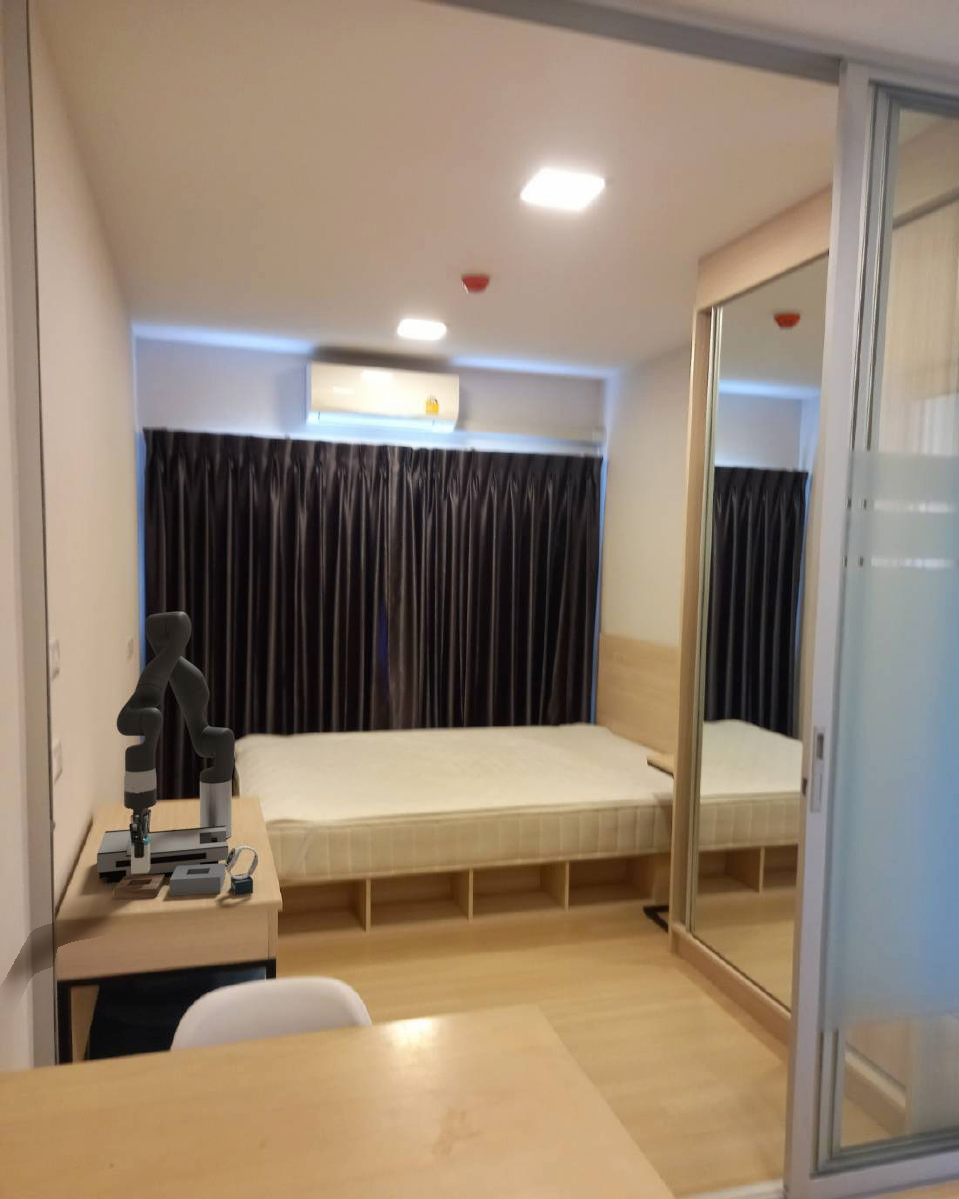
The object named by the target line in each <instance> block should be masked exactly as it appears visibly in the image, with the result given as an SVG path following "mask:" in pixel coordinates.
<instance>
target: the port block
mask: <svg viewBox="0 0 959 1199" xmlns="http://www.w3.org/2000/svg"><path fill="white" fill-rule="evenodd" d="M169 878H170V879H169V896H170V897H173V896H189V895H207V894H221V893H222V888H223V886H224V883H225V879H226V867H225V862H223V863H218V864H204V865H185V866H177V867H176V869H175V871H174V873H173V874H172V876H171V877H169Z"/></svg>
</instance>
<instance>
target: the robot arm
mask: <svg viewBox="0 0 959 1199" xmlns="http://www.w3.org/2000/svg"><path fill="white" fill-rule="evenodd" d="M144 631H145V635H146V638H147V640H148V642H149V644H150V646H151V649H152V650H153V652H154V654H155V657H154V658H153V659H152V660H151V661H150V662H149V663H148V664H147V665H146V666H145V668H143V670H142V672H141V674H140V675H139V678H138V681H137V684H136V687H135V690H134V692H133V693H132V695H131V696H130V698H129V699H128V700H127V702H125V704H124V705H123V707H122V708H121V710H120V711H119V713H118V715H117V719H116V729H117V731H118V732H119V733H120V734H121V735H122V736H126V737H144V741H143V742H141V743H137V744H133V745H130V746H127V748H126V749H125V753H124V777H123V805H124V806H123V807H124V808H125V809H128V810H132V814H131V815H130V819H129V820H130V823H129V825H128V828H129V829H130V835H131V842H132V843H134V857H135V858H143V857H144V841H145V839H144V838H147V837H148V833H149V832H151V831H150V830H151V829H150V827H151V826H150V825H151V816H152V815H151V814H152V809H149V808H152V807H154V806H155V805H156V804H157V800H158V799H157V773H156V772H157V771H156V750H157V745H158V740H159V737H160V734H161V731H162V729H163V728H162V726H163V723H164V716H163V713H162V712H161V710H160V709H158V708H156V707H158V706H160V704H161V703H162V702H163V699H164V696H165V693H166V689H167V686H168V684H170V686H171V689H172V692H173V694H174V697H175V698H176V701H177V703H178V705H179V707H180V710H181V713H182V715H183V717H184V720H185V722H186V726H187V729H188V733H189V736H190V740H191V742H192V746H193V748H194V751H195V752H196V754H197V755H198V756H199V757H202V758H205V759H206V758H211V759H214V765H213V766H212V767H209V768H205V769H203V770H202V771H201V772H200V774H199V828H202V827H214V826H225V825H226V839H228V838H230V837H231V836H232V830H233V829H232V826H233V824H232V821H233V819H232V816H233V814H232V812H233V811H232V810H233V809H232V803H233V802H232V801H233V800H232V797H233V796H232V795H233V793H232V786H233V785H232V782H233V781H232V780H233V778H232V777H233V771H234V767H235V766H234V765H235V747H236V746H235V744H236V739H235V734H234V731H233V730H232V729H230V728H228V727H220V726H219V727H216V726H215V727H214V726H210V725H209V723H208V721H207V719H206V716H205V712H206V709H207V706H208V703H209V700H210V689H209V687H208V684H207V681H206V678H205V676H204V673H202V671H201V670H200V669H199V668H198V667H197V666H195V665H194V664H193V663H191V662H190V661H188V660H187V659H186V658H185V657H183V656H182V654H183V652H184V650H185V649H186V646H187V644H188V643H189V640H190V638H191V635H192V622H191V619H190V617H189V615H188V614H187V613H186V612H184V611H170V612H169V611H168V612H162V613H154V614H150V615H149V616H148V617H146V618H145V622H144ZM168 682H169V683H168ZM136 836H137V838H136Z"/></svg>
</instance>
